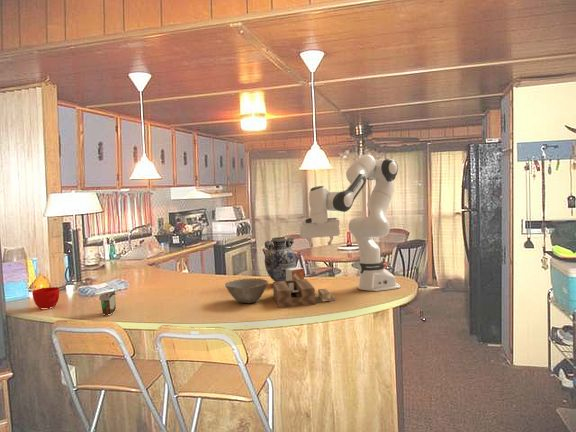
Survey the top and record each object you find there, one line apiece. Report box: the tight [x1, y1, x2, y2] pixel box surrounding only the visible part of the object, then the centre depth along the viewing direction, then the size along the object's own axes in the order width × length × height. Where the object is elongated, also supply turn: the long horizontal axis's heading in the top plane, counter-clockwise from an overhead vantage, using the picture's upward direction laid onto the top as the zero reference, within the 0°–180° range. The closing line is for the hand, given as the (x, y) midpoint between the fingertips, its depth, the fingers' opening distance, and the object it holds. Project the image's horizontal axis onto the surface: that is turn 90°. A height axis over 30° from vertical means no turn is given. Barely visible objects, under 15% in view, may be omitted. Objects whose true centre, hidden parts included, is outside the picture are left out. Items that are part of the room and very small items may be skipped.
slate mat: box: [315, 294, 336, 303], centre depth 252 cm, size 10×10×1 cm
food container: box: [98, 290, 117, 315], centre depth 246 cm, size 12×6×10 cm, turn 5°
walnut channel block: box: [272, 278, 316, 309], centre depth 252 cm, size 18×24×8 cm
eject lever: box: [288, 283, 298, 294], centre depth 253 cm, size 5×18×6 cm, turn 7°
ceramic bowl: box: [224, 277, 269, 304], centre depth 255 cm, size 22×23×10 cm
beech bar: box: [317, 288, 332, 302], centre depth 250 cm, size 4×10×4 cm, turn 8°
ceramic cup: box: [32, 286, 60, 309], centre depth 265 cm, size 13×17×10 cm
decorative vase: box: [264, 236, 297, 282], centre depth 293 cm, size 21×19×28 cm
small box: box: [286, 266, 305, 281], centre depth 272 cm, size 8×6×13 cm
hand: (320, 245), depth 250 cm, fingers open, 8 cm apart
